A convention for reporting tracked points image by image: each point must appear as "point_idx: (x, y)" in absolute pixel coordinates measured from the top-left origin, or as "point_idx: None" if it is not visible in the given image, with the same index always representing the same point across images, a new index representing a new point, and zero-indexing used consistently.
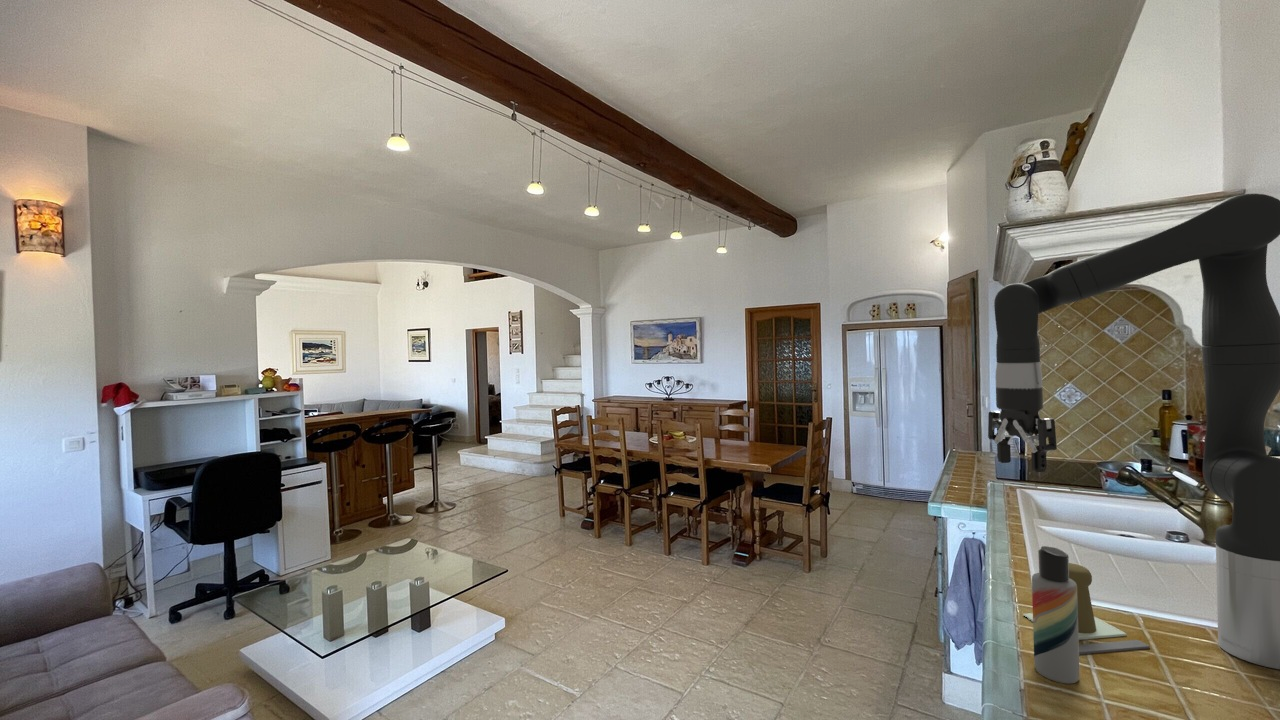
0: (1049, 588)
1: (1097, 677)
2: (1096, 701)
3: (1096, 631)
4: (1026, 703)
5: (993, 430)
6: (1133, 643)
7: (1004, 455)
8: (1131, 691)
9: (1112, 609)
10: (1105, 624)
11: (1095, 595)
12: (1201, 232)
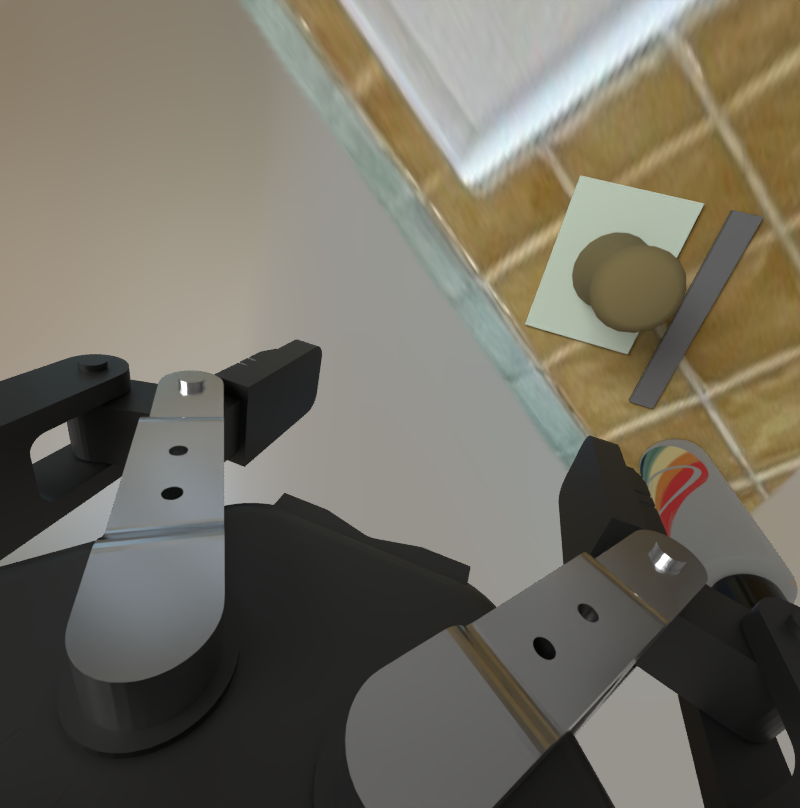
0: None
1: (723, 423)
2: (749, 489)
3: None
4: None
5: (69, 502)
6: (732, 241)
7: (293, 401)
8: (782, 419)
9: (620, 75)
10: (653, 203)
11: (552, 23)
12: None
